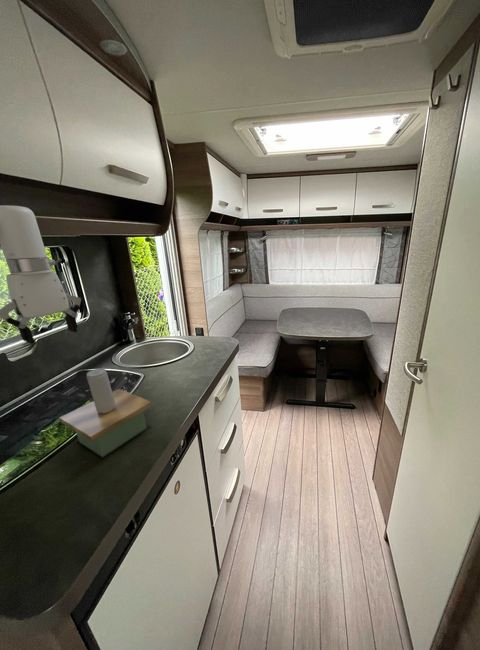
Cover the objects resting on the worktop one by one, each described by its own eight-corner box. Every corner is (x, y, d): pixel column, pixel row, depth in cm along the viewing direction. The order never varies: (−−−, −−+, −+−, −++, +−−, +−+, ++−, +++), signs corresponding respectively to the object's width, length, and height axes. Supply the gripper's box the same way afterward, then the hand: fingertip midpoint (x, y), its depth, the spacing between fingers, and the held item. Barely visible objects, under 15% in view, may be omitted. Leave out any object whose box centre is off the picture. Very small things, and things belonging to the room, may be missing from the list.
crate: (79, 443, 81) (71, 420, 78) (123, 417, 92) (118, 396, 89) (103, 458, 75) (95, 434, 72) (147, 429, 86) (142, 407, 83)
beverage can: (99, 406, 81) (88, 369, 77) (117, 403, 82) (107, 367, 78) (95, 416, 77) (83, 377, 72) (114, 412, 78) (104, 374, 74)
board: (60, 422, 77) (58, 417, 77) (120, 392, 91) (119, 388, 91) (92, 441, 69) (90, 436, 69) (152, 406, 83) (151, 401, 83)
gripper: (62, 262, 72) (80, 325, 79) (-27, 269, 59) (4, 345, 65) (77, 263, 69) (95, 329, 75) (-14, 271, 55) (17, 350, 61)
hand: (53, 336), depth 70 cm, fingers open, 9 cm apart
